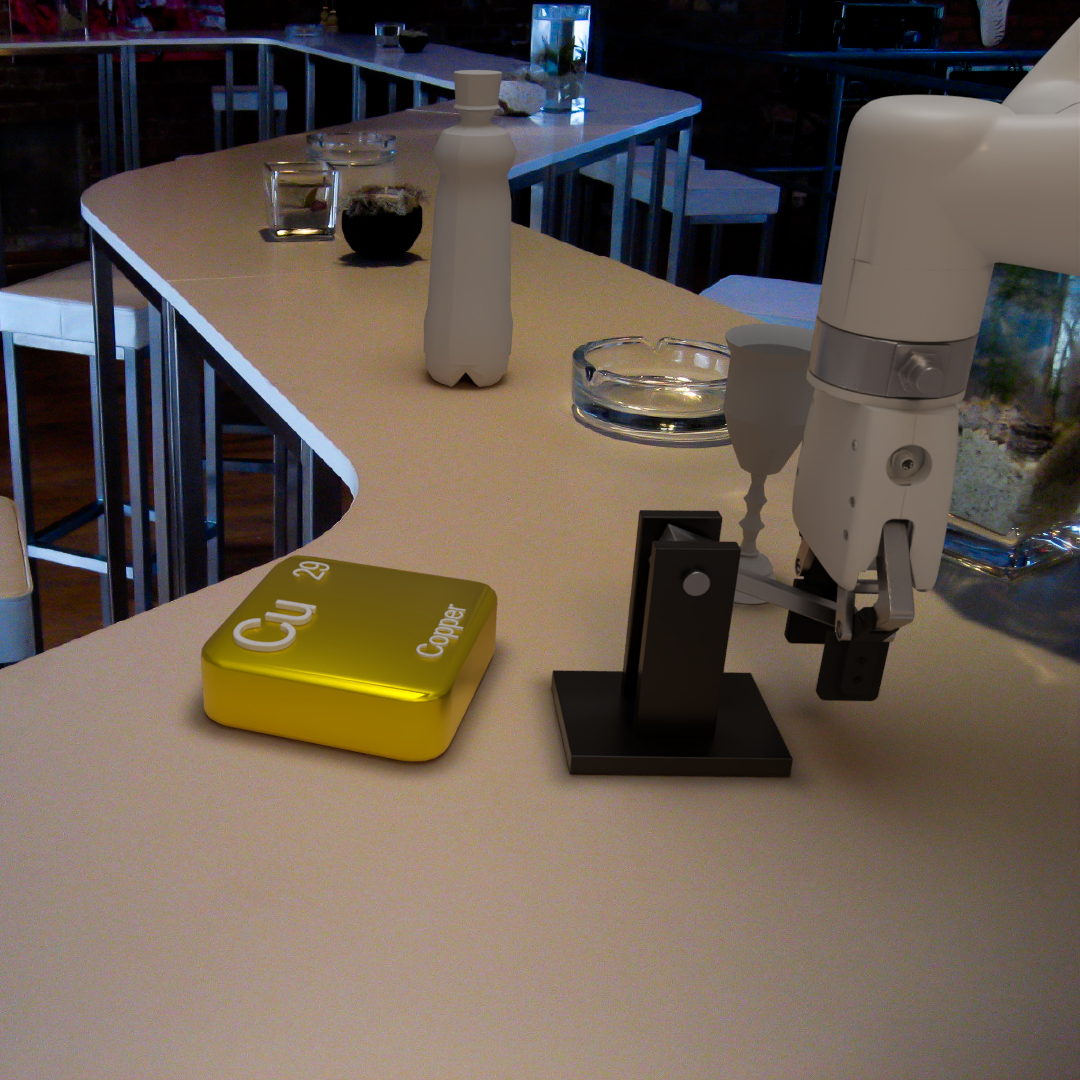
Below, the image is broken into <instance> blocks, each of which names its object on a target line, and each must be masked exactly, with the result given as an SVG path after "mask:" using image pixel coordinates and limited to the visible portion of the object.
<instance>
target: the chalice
mask: <svg viewBox="0 0 1080 1080" xmlns="http://www.w3.org/2000/svg"><path fill="white" fill-rule="evenodd" d="M813 334H814V329H809V328H806V327H801V326H795V325H789V324H779V323H750V324H741V325H738V326H735V327H734V326H733V327H731V328H729V329H728V330H727V331H725V334H724V338H725V341H726V344H727V347H728V350H729V352H730V354H729V362H728V369H727V378H726V385H725V391H724V392H725V393H724V401H723V413H724V417H725V424H726V429H727V434H728V437H729V439H730V443H731V445H732V448H733V451H734V454H735V457H736V460H737V462H738V465H739V467H740V468H741V469H742V470H744V471H745V472H747V473H749V474H750V480H751V481H750V482H751V483H750V486H749V488H748V491H747V493H746V495H744V496H743V501H744V502H745V504H746V505H745V506H746V513H745V514H744V515H745V516H744V517H743V518H742V519H740V520H739V522H738V525H739V526H740V528H741V529H742V537H743V539H742V540H741V544H740V545H739V547H740V549H741V555H740V562H739V567H741V568H744V569H747V570H749V571H752V572H755V573H757V574H760V575H763V576H766V577H768V578H771V579H774V580H776V581H777V576H776V574H775V572H774V566H773V564H772V563H771V561H770V559H769V558H768V556H766V555H765V554H764V553H762V552H760V549H758V548H757V538H758V536H759V533H760V532H761V530H763V529H765V528H766V526H765V524H764V522H763V520H762V518H761V512H762V509H763V508H764V506H765V505H766V504H767V503H768V498H767V496H766V494H765V484H766V480H767V478H768V476H772V475H776V474H779V473H780V472H781V471H782V470H783V468H784V467H785V466H786V464H787V463H788V461H789V460H790V458H791V457H792V456H793V454H794V453H795V452H796V450H797V449H798V448H799V446H800V444H802V440H803V435H804V431H805V427H806V422H807V418H808V414H809V410H810V406H811V402H812V398H813V394H814V390H815V388H814V387H813V386H811V384H810V383H809V382H808V381H807V378H806V375H807V370H808V364H809V358H810V352H811V346H812V340H813ZM734 603H738V604H745V605H760V604H765V603H767V602H766V601H764V600H761V599H758V598H756V597H753V596H750V595H747V594H745V593H742V592H739V591H737V590H735V597H734Z"/></svg>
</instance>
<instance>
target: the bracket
mask: <svg viewBox="0 0 1080 1080" xmlns="http://www.w3.org/2000/svg"><path fill="white" fill-rule="evenodd" d="M668 524H670V525H673V526H676V527H678V528H681V529H684V530H686V531H689V532H692V533H694V534H697V535H700V536H702V537H705V538H708V539H710V540H713V541H659V539H660V538H661V536H662V534H663V532H664V530H665V528H666V527H667V525H668ZM722 526H723V516H722V514H721V512H720V511H719V510H687V509H686V510H685V509H684V510H683V509H682V510H680V509H679V510H675V509H673V510H670V509H666V510H665V509H640V510H638V519H637V530H636V539H635V548H634V558H633V565H632V566H633V569H632V577H631V586H630V588H631V589H630V596H629V605H628V606H629V607H628V616H627V625H626V636H625V643H624V644H625V645H624V655H623V665H622V670H566V669H565V670H561V669H559V670H557V669H556V670H552V674H551V691H552V695H553V700H554V704H555V710H556V715H557V719H558V724H559V728H560V734H561V738H562V743H563V747H564V751H565V757H566V762H567V766H568V770H569V774H571V775H630V776H631V775H633V776H635V775H637V776H643V775H644V776H701V777H702V776H707V777H708V776H712V777H713V776H714V777H780V778H781V777H783V778H784V777H785V778H786V777H791V774H792V768H793V764H794V763H793V762H794V758H793V756H792V753H791V752H790V750H789V748H788V746H787V743H786V742H785V740H784V738H783V736H782V734H781V732H780V729H779V728H778V726H777V723H776V721H775V719H774V717H773V715H772V713H771V711H770V709H769V707H768V705H767V704H766V701H765V698H764V697H763V694H762V692H761V691H760V689H759V687H758V685H757V683H756V681H755V679H754V676H753V674H752V673H751V672H738V671H737V672H735V671H734V672H730V671H728V672H727V671H725V665H726V659H727V652H728V646H729V638H730V631H731V624H732V617H733V609H734V604H735V602H734V597H735V590H736V583H737V576H738V569H739V562H740V555H741V549H740V545H739V543H738V542H737V541H726V540H725V541H724V540H723V541H720V540H721V533H722ZM650 556H651V560H650V562H649V558H650Z"/></svg>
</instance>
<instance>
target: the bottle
mask: <svg viewBox="0 0 1080 1080" xmlns="http://www.w3.org/2000/svg"><path fill="white" fill-rule="evenodd" d="M502 77H503V72H502V71H499V70H492V69H491V70H489V69H464V70H463V69H462V70H455V71H453V81H454V84H453V85H454V95H455V96H454V98H455V104H454V105H453V106H452V107H453V108H454V109H456V110H457V112H458V114H459V117H460V119H461V120H460V121H459V123H457V124H454V125H453V126H450V127H448V128H446V129H443V130H442V131H441V134H440V136H439V138H438V139H437V142H436V144H435V146H434V148H433V153H434V160H435V164H436V167H437V168H438V170H439V172H440V175H439V180H438V184H437V188H436V194H435V198H434V210H433V224H432V225H433V226H432V235H431V236H432V237H431V250H430V251H431V252H430V267H429V278H428V279H429V281H428V292H427V293H428V294H427V306H426V309H425V313H424V314H425V315H424V319H423V353H424V357H425V358H424V361H425V362H424V363H425V369H426V370H427V371H428V373H429V375H430V376H431V378H432V380H434V381H435V382H437V383H439V384H442V385H444V386H448V387H451V388H452V387H454V386H455V385H458V383H459V382H460V380H461V379H462V377H463V376H464V375H465V374H467V375H468V376H469V378H470V379H471V380H472V382H473V383H474V385H476V386H477V387H478V388H482V387H491V386H493V385H495V384H497V383H498V382H500V380H501V379H502V377H503V376H504V375H505V373H506V372H507V371H508V369H509V367H508V366H509V361H510V356H511V354H512V343H513V330H514V320H513V314H512V306H511V305H512V304H511V300H512V298H511V297H512V296H511V294H512V291H511V290H512V283H511V282H512V197H511V188H510V185H509V184H510V182H509V176H508V175H509V173H510V171H511V169H512V167H513V166H514V162H515V160H516V159H515V158H516V154H517V149H516V146H515V144H514V142H513V139H512V136H511V133H510V132H509V131H508V130H506V129H505V128H502V127H500V126H499V125H497V124H494V123H493V121H492V119H493V116H494V114H495V112H496V110H498V109H500V108H501V106H500V105H499V98H500V92H501V84H502V79H503V78H502Z"/></svg>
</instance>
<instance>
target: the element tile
mask: <svg viewBox="0 0 1080 1080" xmlns="http://www.w3.org/2000/svg"><path fill="white" fill-rule="evenodd" d="M497 619H498V595H497V593H496V590H494V589H493V588H492V587H491V586H490V585H489V584H487V583H484V582H481V581H476V580H470V579H465V578H457V577H450V576H445V575H444V576H443V575H438V574H432V573H424V572H417V571H412V570H411V571H410V570H405V569H398V568H391V567H384V566H379V565H371V564H367V563H366V564H365V563H359V562H352V561H345V560H339V559H333V558H325V557H319V556H312V555H301V554H297V555H296V554H295V555H290V556H289V557H287V558H285V559H284V560H282V561H280V562H278V563H277V564H275V565H274V566H273V567H272V568H271V569H270V571H268V573H267V574H266V575H265V576H264V577H263V578H262V579H261V580H260V582H258V584H257V585H256V586H255V587H254V588H253V589H252V590H251V591H250V593H249V594H248V595H247V596H246V597H245V598H244V599H243V600H242V601H241V603H239V605H238V606H237V607H236V608H235V609H234V610H233V612H232V613H231V614H230V615H229V616H227V618H226V619H225V620H224V621H223V623H221V625H220V626H219V627H218V628H217V629H216V630H215V632H214V633H212V635H211V636H210V637H209V638H208V639H207V640H206V641H205V642H204V644H203V646H202V647H201V651H200V667H201V682H202V683H201V685H202V699H203V711H204V712H205V714H206V715H207V716H208V718H209V719H210V720H212V721H214V722H216V723H218V724H220V725H222V726H224V727H230V728H234V729H240V730H244V731H249V732H255V733H260V734H265V735H270V736H276V737H280V738H285V739H290V740H296V741H299V742H305V743H310V744H314V745H315V744H316V745H320V746H326V747H330V748H336V749H340V750H346V751H351V752H356V753H361V754H367V755H371V756H376V757H381V758H387V759H391V760H395V761H402V762H426V761H429V760H433V759H436V758H437V757H439V756H441V755H442V754H443V753H445V751H447V749H448V748H449V746H450V744H451V742H452V740H453V739H454V736H455V735H456V732H457V730H458V728H459V726H460V724H461V722H462V720H463V718H464V716H465V714H466V712H467V709H468V708H469V706H470V704H471V701H472V700H473V697H474V695H475V693H476V691H477V689H478V687H479V685H480V683H481V681H482V678H483V677H484V674H485V672H487V671H486V670H487V669H488V666H489V664H490V662H491V660H492V658H493V656H494V654H495V650H496V639H497V638H496V637H497Z"/></svg>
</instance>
